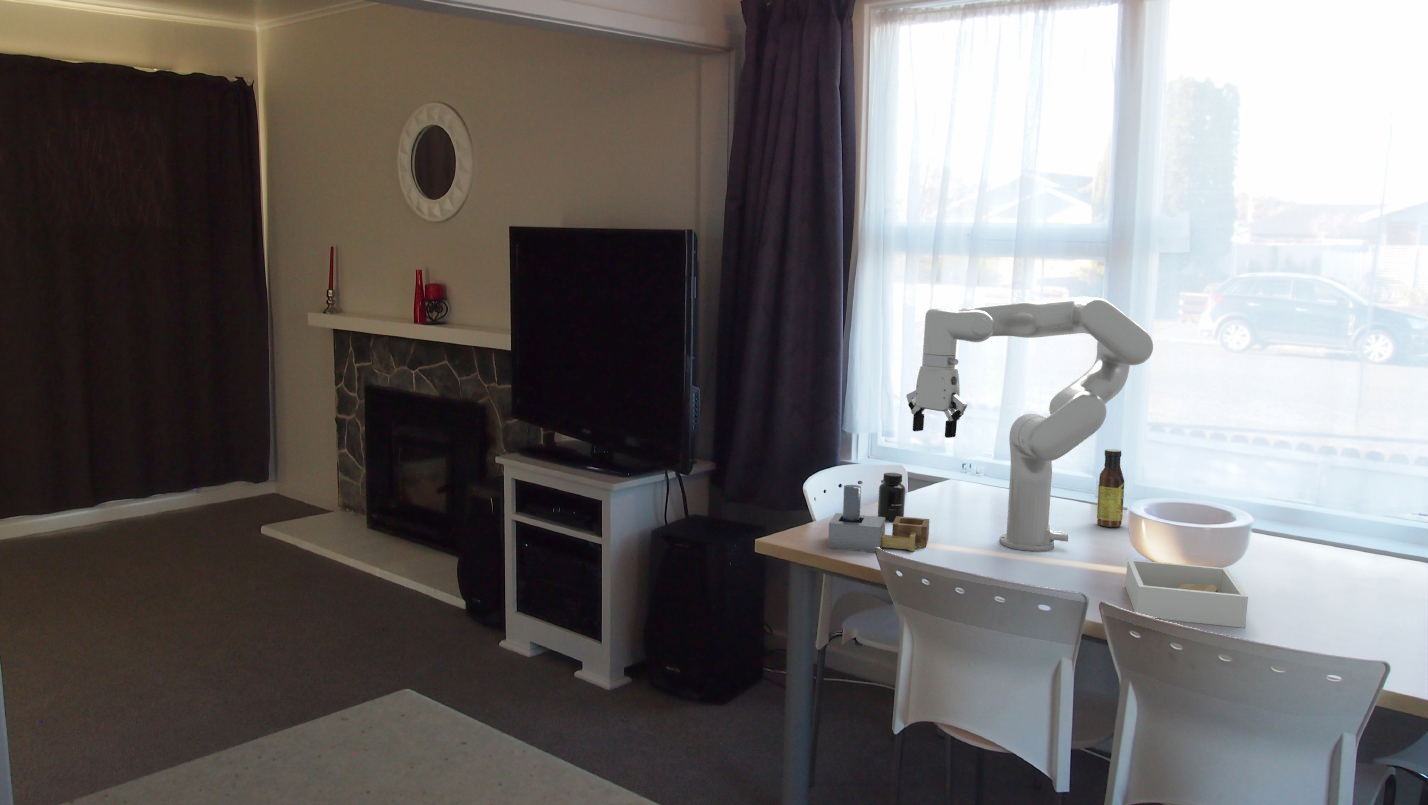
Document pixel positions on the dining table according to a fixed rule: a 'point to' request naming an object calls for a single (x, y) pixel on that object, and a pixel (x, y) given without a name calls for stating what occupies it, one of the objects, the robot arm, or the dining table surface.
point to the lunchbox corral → (1185, 593)
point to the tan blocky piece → (899, 542)
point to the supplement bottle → (891, 497)
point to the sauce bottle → (1111, 491)
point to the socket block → (856, 533)
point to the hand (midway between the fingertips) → (933, 433)
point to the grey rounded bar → (851, 503)
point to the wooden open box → (912, 529)
